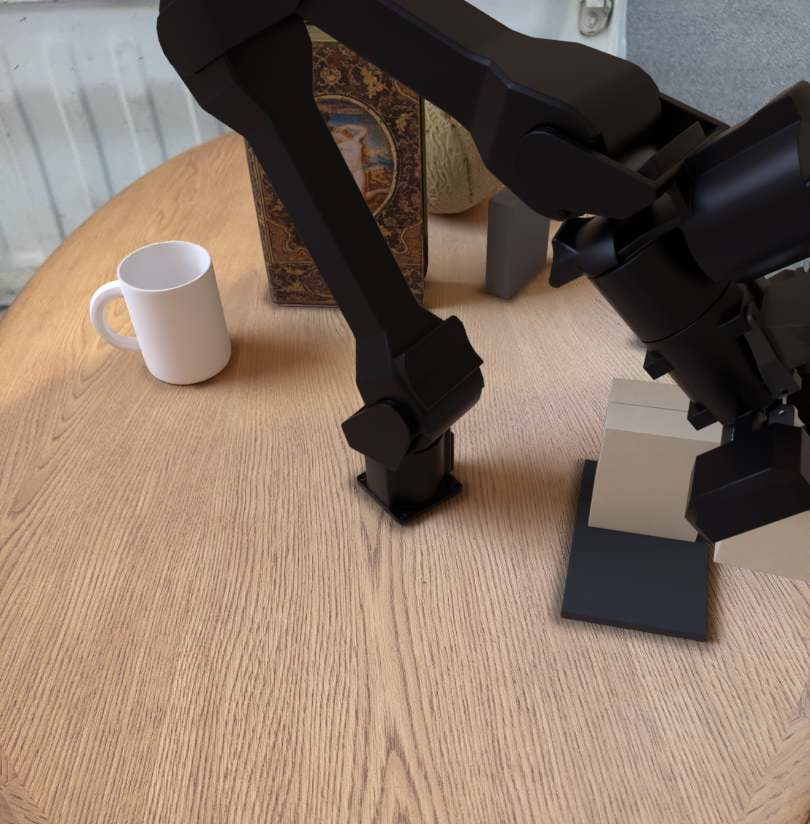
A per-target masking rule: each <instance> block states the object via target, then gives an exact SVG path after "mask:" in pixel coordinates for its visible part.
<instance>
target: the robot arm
mask: <svg viewBox="0 0 810 824" xmlns="http://www.w3.org/2000/svg"><path fill="white" fill-rule="evenodd" d="M158 4H159V5H158V16H157V17H156V27H155V29H156V35H157V40H158V41H157V42H158V44H159V46H160V48H161V50H162V53H163V55H164V57H165V58H166V60H167V61H168V63H169V64H170V65H171V66H172V68H173V69H174V70H175V72H176V74H177V75H178V77H179V78H180V79H181V82H182V83H183V84H184V85H185V87H186V88H187V90H188V92H189V93H190V94H191V96H192V98H194V100H195V101H196V103H197V105H198V106H199V107H200V108H201V110H203V111H204V112H205V113H207V114H208V115H210V116H211V117H213V118H214V119H216V120H218V121H219V122H221V123H222V124H224V125H225V126H226V127H228V128H230V129H231V130H232V131H234V132H235V133H237V134H238V135H239V136H241V137H242V138H243V137H244V138H245V139H246V140H247V142H248V143H249V145H250V147H251V148H252V150H253V152H254V154H255V156H256V157H257V159H258V161H259V163H260V165H261V167H262V168H263V170H264V172H265V174H266V176H267V177H268V179H269V181H270V183H271V185H272V187H273V188H274V190H275V192H276V194H277V196H278V198H279V199H280V201H281V203H282V205H283V207H284V209H285V210H286V212H287V214H288V216H289V218H290V219H291V221H292V223H293V225H294V227H295V229H296V230H297V232H298V234H299V236H300V238H301V240H302V241H303V243H304V245H305V247H306V249H307V250H308V252H309V254H310V256H311V258H312V260H313V261H314V263H315V265H316V267H317V269H318V271H319V272H320V274H321V276H322V278H323V280H324V281H325V283H326V285H327V287H328V289H329V291H330V292H331V294H332V296H333V298H334V300H335V302H336V303H337V305H338V307H337V308H338V309H339V311H340V312H341V314H342V316H343V318H344V320H345V321H346V323H347V325H348V327H349V329H350V330H351V332H352V335H353V338H354V341H355V384H356V388H357V390H358V392H359V396H360V397H361V399H362V402H363V404H364V405H363V406H362V407H360V408H359V409H358V410H356V411H355V412H354V413H353V414H351V415H350V416H349V417H347V419H345V420H344V421H343V422H341V424H340V427H341V428H340V429H341V430H342V432H343V435H344V437H345V440H346V443H347V445H348V447H349V449H352V450H354V451H355V452H357V453H358V454H359V453H360V454H361V455H363V456H364V467H365V471H363V472H361V473H360V474H357V476H356V483H357V485H358V486H359V487H360V488H361V489H362V491H364V492H365V493H366V494H367V495H368V496H369V497H370V498H371V499H372V500H374V502H375V503H376V504H377V505H378V506H379V507H380V508H381V509H382V510H383V511H384V512H385V513H386V514H387V515H389V516H390V518H391V519H392V520H393V521H394V522H395V523H396V524H398V525H406V524H408V523H409V522H411V521H413V520H415V519H417V518H418V517H420V516H422V515H424V514H425V513H428V512H429V511H430V510H432V509H434V508H436V507H438V506H439V505H441V504H443V503H445V502H446V501H448V500H451V499H452V498H454V497H455V496H457V495H459V494H460V493H462V492H463V487H464V486H463V484H462V482H461V481H460V480H459V479H458V478H456V477H455V476H454V475H453V474H452V472H454V469H455V433H454V432H453V431H452V426H454V425H455V423H457V422H458V421H459V420H460V419H461V418H462V417H464V416H465V414H467V413H468V412H469V411H470V410H472V409H473V407H475V406H476V405H477V404H478V402H479V401H480V400H481V396H482V392H483V389H484V388H485V379H484V375H483V372H482V370H481V366H482V365H483V364H484V363H485V362H484V359H483V358H482V357H481V356H480V354H479V353H477V351H476V350H475V348H474V347H473V345H472V343H471V341H470V338H469V335H468V333H467V330H466V328H465V325H464V323H463V321H461V320H460V318H459V317H458V316H457V315H455V314H452V315H450V316H448V317H447V318H445V319H443V318H442V317H440V316H439V315H437V314H436V313H434V312H433V311H430V310H429V309H428V308H426V307H425V306H423V305H422V304H421V305H420V304H419V303H418V301H417V300H416V298H415V297H414V295H413V293H412V291H411V289H410V287H409V285H408V283H407V281H406V279H405V277H404V275H403V273H402V271H401V269H400V267H399V265H398V263H397V261H396V259H395V257H394V255H393V253H392V251H391V249H390V247H389V246H388V244H387V242H386V240H385V238H384V236H383V234H382V232H381V230H380V228H379V226H378V224H377V222H376V220H375V218H374V216H373V214H372V212H371V210H370V208H369V206H368V204H367V202H366V200H365V198H364V196H363V194H362V193H361V191H360V189H359V187H358V185H357V183H356V181H355V179H354V177H353V175H352V173H351V171H350V169H349V167H348V165H347V163H346V161H345V159H344V157H343V155H342V153H341V151H340V149H339V147H338V145H337V143H336V142H335V140H334V138H333V136H332V134H331V132H330V130H329V128H328V126H327V124H326V122H325V120H324V118H323V116H322V114H321V112H320V110H319V108H318V106H317V104H316V101H315V99H314V79H313V43H312V40H311V37H310V35H309V32H308V29H307V27H306V24H305V20H307V21H308V22H310V23H311V24H313V25H314V26H316V27H317V28H319V29H320V30H322V31H323V32H325V33H326V34H328V35H329V36H331V37H332V38H334V39H335V40H337V41H338V42H340V43H341V44H343V45H344V46H346V47H347V48H349V49H350V50H352V51H353V52H355V53H356V54H358V55H359V56H361V57H362V58H364V59H365V60H367V61H368V62H370V63H371V64H373V65H374V66H376V67H377V68H379V69H380V70H382V71H383V72H385V73H386V74H388V75H389V76H391V77H392V78H394V79H395V80H397V81H398V82H400V83H401V84H403V85H404V86H406V87H407V88H409V89H410V90H412V91H413V92H415V93H416V94H418V95H419V96H421V97H423V98H424V99H426V100H427V101H429V102H430V103H432V104H433V105H435V106H436V107H438V108H439V109H441V110H442V111H444V112H445V113H447V114H448V115H450V116H451V117H453V118H454V119H455V120H456V121H457V122H459V123H460V124H461V125H462V126H463V127H464V128H465V129H466V130H467V131H468V132H469V133H470V134H471V136H472V138H473V141H474V143H475V145H476V147H477V150H478V152H479V154H480V156H481V159H482V161H483V163H484V165H485V167H486V168H487V169H488V171H489V172H490V173H492V174H493V175H494V176H495V177H496V178H497V179H498V180H499V181H500V184H502V185H503V186H504V187H505V186H506V187H507V188H508V189H509V190H510V191H511V192H512V193H513V194H514V195H515V196H516V197H518V198H519V199H520V200H521V201H522V202H523V203H524V204H525V205H526V206H527V207H528V208H530V209H531V210H532V211H533V212H535V213H536V214H538V215H540V216H542V217H544V218H546V219H549V220H550V221H552V222H559V223H561V222H562V223H561V224H560V226H559V227H558V229H557V230H556V232H555V233H554V235H553V237H552V239H551V248H552V260H551V265H550V270H549V276H548V281H547V282H548V285H549V286H550V287H551V288H553V289H559V288H562V287H564V286H565V285H568V284H570V283H571V282H573V281H575V280H577V279H580V278H581V277H584V276H586V278H587V279H588V280H589V282H590V283H591V284H592V285H593V286H594V288H595V289H596V290H597V291H598V292H599V294H600V295H601V296H602V297H603V298H604V299H605V301H606V302H607V303H608V304H609V305H610V306H611V308H612V309H613V310H614V311H615V312H616V314H617V315H618V316H619V317H620V319H622V321H623V322H624V323H625V324H626V325H627V327H628V328H629V329H630V331H631V332H632V333H633V334H634V335H635V336H636V338H639V340H640V341H641V342H642V343H643V344H644V346H645V347H646V348H645V347H644V348H645V349H646V352H645V355H644V361H643V365H642V369H643V370H644V371H645V372H646V374H647V375H648V376H649V377H650V378H651V379H652V380H653V381H655V380H658V379H660V378H661V377H663V376H665V375H667V374H668V376H669V377H670V378H671V379H672V380H673V382H674V383H675V385H678V386H679V387H680V388H681V390H682V391H683V392H684V393H685V394H686V395H687V397H688V398H689V399H690V403H689V409H688V414H687V420H688V421H689V422H690V423H691V425H692V426H693V427H694V428H695V429H696V430H697V431H698V430H701V429H703V428H705V427H707V426H709V425H712V424H714V423H716V422H718V421H719V422H720V424H721V425H723V427H722V435H721V443H720V446H719V447H716V448H714V449H712V450H709V451H707V452H705V453H702V454H700V455H698V456H696V459H695V462H694V465H693V469H692V472H691V477H690V484H689V490H688V497H687V503H686V510H685V516H684V517H685V519H686V520H687V521H688V522H689V523H690V524H691V525H692V526H693V527H694V528H695V530H696V531H697V532H698V533H699V534H700V535H701V536H702V537H703V538H704V539H705V540H707V541H709V543H710V544H716V542H719V541H722V540H725V539H728V538H731V537H733V536H736V535H739V534H742V533H745V532H748V531H751V530H754V529H757V528H759V527H762V526H765V525H768V524H771V523H774V522H777V521H780V520H783V519H785V518H788V517H791V516H794V515H797V514H800V513H803V512H806V511H808V510H809V511H810V262H809V263H808V264H809V265H808V266H809V267H808V269H807V271H805V266H798V267H796V268H795V269H789V268H788V267H790V266H792V265H794V264H797V263H800V262H803V261H804V260H808V259H809V258H810V82H809V81H808V80H804V79H802V80H799V81H798V82H796V83H794V84H793V85H790V86H789V87H788V88H786V89H784V90H783V91H781V92H780V93H778V94H777V95H776V96H774V97H773V98H772V99H770V100H769V101H768V102H767V103H766V104H765V105H763V106H762V107H761V108H760V109H758V110H757V111H756V112H754V113H753V114H752V115H750V116H748V117H746V118H745V119H742V120H741V121H740V122H738V123H736V124H734V125H733V126H731V125H730V124H727V123H726V122H724V121H721V120H719V119H718V118H715V117H714V116H711V115H709V114H707V113H705V112H704V111H702V110H699V109H697V108H695V107H693V106H691V105H688V104H687V103H685V102H683V101H681V100H679V99H676V98H674V97H672V96H670V95H669V94H666V93H664V92H662V91H660V88H659V86H658V85H657V83H656V81H655V80H654V79H653V78H652V76H651V75H650V74H649V73H647V71H646V70H644V69H643V67H641V66H639V65H638V64H636V63H634V62H632V61H630V60H628V59H625V58H623V57H619V56H618V55H617V56H616V55H615V54H614V55H613V54H612V53H608V52H607V51H606V52H605V51H603V50H600V49H597V48H594V47H592V46H589V45H586V44H584V43H581V42H577V41H569V40H562V39H561V40H560V39H552V38H545V37H543V38H542V37H536V36H530V35H527V34H525V33H522V32H519V31H517V30H515V29H513V28H510V27H509V26H507V25H505V24H504V23H502V22H500V21H499V20H497V19H496V18H495V17H492V16H491V15H489V13H486V12H484V11H483V10H481V9H480V8H478V7H476V6H475V5H473V4H472V3H470V2H469V1H468V0H159V3H158ZM585 215H591V216H587V217H584V216H585ZM777 271H778V272H777ZM775 272H777V273H775ZM772 273H775V274H773V275H772V276H770V277H768V278H766V276H768V275H771V274H772Z"/></svg>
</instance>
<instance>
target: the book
mask: <svg viewBox="0 0 810 824" xmlns="http://www.w3.org/2000/svg"><path fill="white" fill-rule="evenodd" d="M305 24H306V27H307V29H308V32H309V35H310V37H311V40H312V43H313V79H314V99H315V101H316V104H317V106H318V108H319V110H320V112H321V114H322V116H323V118H324V120H325V122H326V124H327V126H328V128H329V130H330V132H331V134H332V136H333V138H334V140H335V142H336V143H337V145H338V147H339V149H340V151H341V153H342V155H343V157H344V159H345V161H346V163H347V165H348V167H349V169H350V171H351V173H352V175H353V177H354V179H355V181H356V183H357V185H358V187H359V189H360V191H361V193H362V194H363V196H364V198H365V200H366V202H367V204H368V206H369V208H370V210H371V212H372V214H373V216H374V218H375V220H376V222H377V224H378V226H379V228H380V230H381V232H382V234H383V236H384V238H385V240H386V242H387V244H388V246H389V247H390V249H391V251H392V253H393V255H394V257H395V259H396V261H397V263H398V265H399V267H400V269H401V271H402V273H403V275H404V277H405V279H406V281H407V283H408V285H409V287H410V289H411V291H412V293H413V295H414V297H415V298H416V300H417V301H418V303H419V304H420V305H421V306H422V304H423V302H424V301H423V300H424V296H425V279H426V277H427V276H428V275H427V274H428V268H429V223H428V211H427V174H426V133H425V99H424V98H423V97H421V96H419V95H418V94H416V93H415V92H413V91H412V90H410V89H409V88H407V87H406V86H404V85H403V84H401V83H400V82H398V81H397V80H395V79H394V78H392V77H391V76H389V75H388V74H386V73H385V72H383V71H382V70H380V69H379V68H377V67H376V66H374V65H373V64H371V63H370V62H368V61H367V60H365V59H364V58H362V57H361V56H359V55H358V54H356V53H355V52H353V51H352V50H350V49H349V48H347V47H346V46H344V45H343V44H341V43H340V42H338V41H337V40H335V39H334V38H332V37H331V36H329V35H328V34H326V33H325V32H323V31H322V30H320V29H319V28H317V27H316V26H314V25H313V24H311V23H310V22H308V21H307V20H305ZM242 140H243V146H244V147H243V148H244V152H245V158H246V164H247V169H248V174H249V181H250V187H251V192H252V198H253V203H254V209H255V216H256V221H257V227H258V232H259V238H260V239H259V240H260V244H261V250H262V255H263V261H264V268H265V272H266V278H267V284H268V291H269V294H270V300H271V302H272V303H273V304H275V306H280V307H281V306H286V307H287V306H288V307H289V306H290V307H317V308H318V307H321V308H322V307H323V308H339V307H338V305H337V303H336V302H335V300H334V298H333V296H332V294H331V292H330V291H329V289H328V287H327V285H326V283H325V281H324V280H323V278H322V276H321V274H320V272H319V271H318V269H317V267H316V265H315V263H314V261H313V260H312V258H311V256H310V254H309V252H308V250H307V249H306V247H305V245H304V243H303V241H302V240H301V238H300V236H299V234H298V232H297V230H296V229H295V227H294V225H293V223H292V221H291V219H290V218H289V216H288V214H287V212H286V210H285V209H284V207H283V205H282V203H281V201H280V199H279V198H278V196H277V194H276V192H275V190H274V188H273V187H272V185H271V183H270V181H269V179H268V177H267V176H266V174H265V172H264V170H263V168H262V167H261V165H260V163H259V161H258V159H257V157H256V156H255V154H254V152H253V150H252V148H251V147H250V145H249V143H248V142H247V140H246V139H245V138H244V137H243V136H242Z"/></svg>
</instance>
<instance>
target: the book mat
mask: <svg viewBox="0 0 810 824" xmlns="http://www.w3.org/2000/svg"><path fill="white" fill-rule="evenodd" d="M607 401H608V402H607V405H606V406H607V407H606V411H605V418H604V422H603V423H604V424H603V428H602V435H601V440H600V446H599V451H598V458H597V460H595V459H587V458H586V459H584V462H583V470H582V475H581V481H580V488H579V494H578V500H577V501H578V502H577V506H576V507H577V508H576V513H575V518H574V519H575V521H574V527H573V534H572V539H571V546H570V552H569V559H568V565H567V571H566V578H565V582H564V583H565V584H564V588H563V589H564V590H563V595H562V596H563V597H562V602H561V609H560V618H563V619H570V620H575V621H581V622H588V623H593V624H598V625H605V626H611V627H616V628H623V629H628V630H634V631H638V632H639V631H640V632H644V633H645V632H646V633H652V634H656V635H657V634H658V635H664V636H669V637H675V638H681V639H687V640H693V641H698V642H705V640H706V638H707V635H708V633H707V631H708V626H707V625H708V589H709V588H708V587H709V586H708V585H709V582H708V581H709V545H710V544H709V543H710V542H709V541H707V540H705V539H704V538H703V537H702V536H701V535H700V534H699V533H698V532H697V531H696V530H695V528H694V527H693V526H692V525H691V524H690V523H689V522H688V521H687V520H686V519H685V517H684V516H685V510H686V503H687V497H688V490H689V484H690V477H691V472H692V469H693V465H694V462H695V459H696V456H698V455H700V454H702V453H705V452H707V451H709V450H712V449H714V448H716V447H719V446H720V443H721V435H722V427H723V425H721V424H720V422H719V421H718V422H716V423H714V424H712V425H709V426H707V427H705V428H703V429H701V430H698V431H697V430H696V429H695V428H694V427H693V426H692V425H691V423H690V422H689V421H688V420H687V414H688V409H689V403H690V399H689V398H688V397H687V395H686V394H685V393H684V392H683V391H682V390H681V388H680V387H679V386H678V385H677V384H672V383H664V382H655V381H648V380H638V379H630V378H622V377H612V379H611V384H610V389H609V395H608V400H607Z"/></svg>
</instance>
